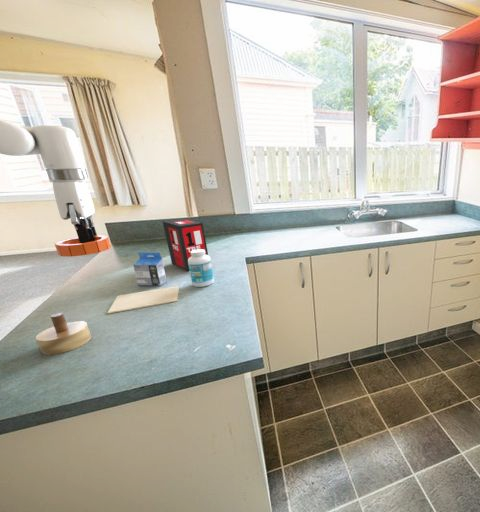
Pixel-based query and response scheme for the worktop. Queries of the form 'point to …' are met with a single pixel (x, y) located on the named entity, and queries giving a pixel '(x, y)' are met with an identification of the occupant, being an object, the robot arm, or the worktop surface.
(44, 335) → the stake stand
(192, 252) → the pill bottle
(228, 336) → the worktop surface
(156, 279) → the label tape box
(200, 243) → the cleaning product box
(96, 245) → the ring
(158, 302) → the mat
